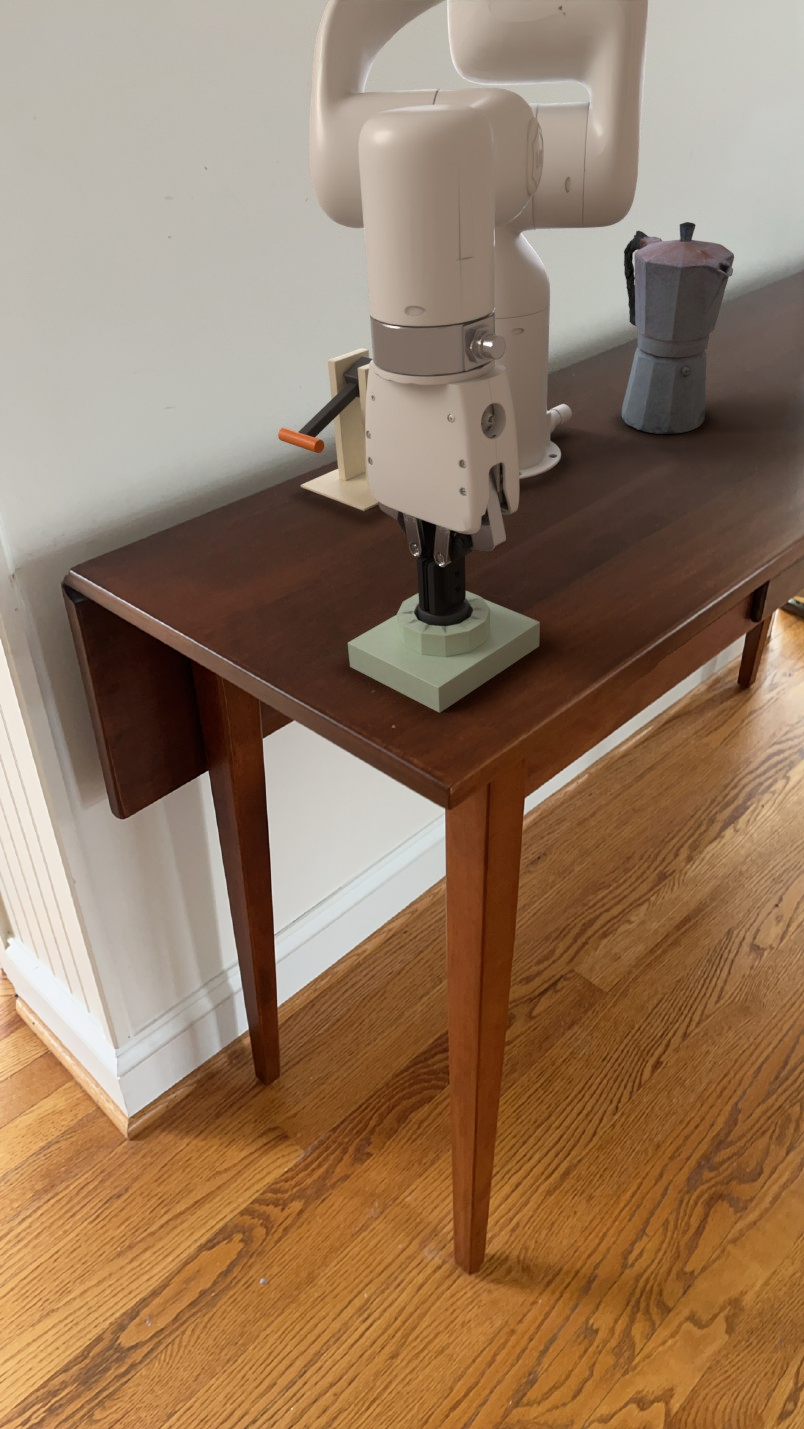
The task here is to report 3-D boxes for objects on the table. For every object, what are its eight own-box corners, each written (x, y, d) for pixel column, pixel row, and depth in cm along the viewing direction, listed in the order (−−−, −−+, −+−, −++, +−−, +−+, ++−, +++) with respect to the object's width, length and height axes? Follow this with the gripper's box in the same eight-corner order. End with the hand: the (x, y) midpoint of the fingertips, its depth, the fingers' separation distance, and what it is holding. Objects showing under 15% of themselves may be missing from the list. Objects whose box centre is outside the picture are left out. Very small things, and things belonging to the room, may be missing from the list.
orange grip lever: (320, 461, 91) (309, 440, 89) (283, 448, 94) (273, 427, 92) (397, 384, 94) (389, 362, 93) (360, 374, 97) (351, 353, 96)
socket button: (442, 606, 76) (441, 586, 75) (479, 622, 74) (478, 601, 73) (408, 626, 74) (407, 605, 73) (445, 643, 72) (444, 621, 71)
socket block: (450, 608, 82) (448, 563, 79) (539, 647, 76) (540, 600, 74) (349, 667, 75) (345, 621, 73) (439, 714, 70) (437, 665, 68)
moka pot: (679, 451, 104) (702, 240, 93) (578, 411, 115) (587, 217, 103) (743, 428, 108) (773, 223, 97) (640, 391, 119) (656, 202, 107)
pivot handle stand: (365, 520, 95) (353, 384, 88) (301, 496, 101) (285, 365, 93) (444, 482, 101) (440, 351, 94) (380, 460, 107) (371, 335, 99)
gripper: (570, 347, 60) (559, 618, 71) (389, 310, 69) (404, 556, 79) (486, 381, 56) (488, 663, 66) (306, 337, 65) (333, 593, 75)
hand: (442, 604), depth 73 cm, fingers closed
